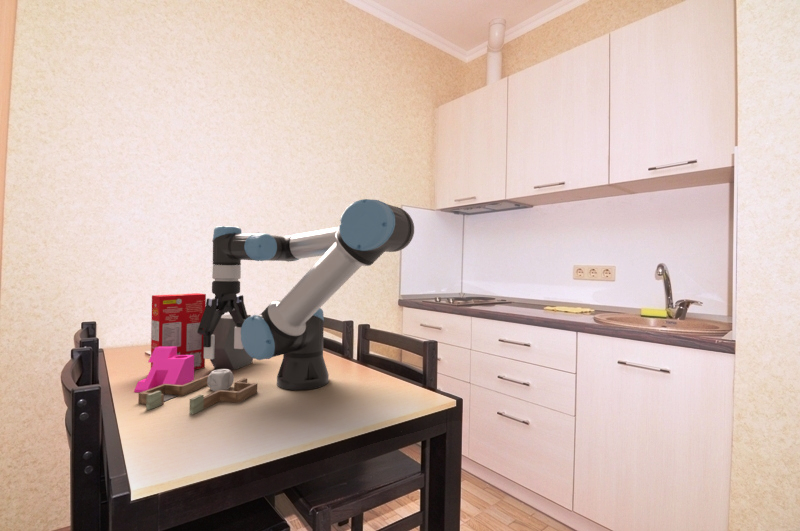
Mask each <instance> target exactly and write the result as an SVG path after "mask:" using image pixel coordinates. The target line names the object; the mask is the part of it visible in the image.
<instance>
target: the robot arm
mask: <svg viewBox="0 0 800 531" xmlns="http://www.w3.org/2000/svg"><path fill="white" fill-rule="evenodd" d="M339 221H340V224H339V225H338V226H336V227H329V228H325V229H319V230H313V231H307V232H302V233H300V232H299V233H295V234H290V235H275V234H274V235H272V234H270V233H266V232H265V233H263V232H255V233H253V232H252V233H250V232H249V233H243V232H242V229H241V228H240V227H239V226H229V225H226V226H225V225H217V226H216V227H214V228H213V237H212V241H211V242H212V275H211V276H212V277H211V278H212V279H214V280H213V281H212V282H211V293H212V294H214V298H212V297H211V298H210V297H206V307H205V310H204V313H203V316H202V319H201V322H200V325H199V328H198V331H197V333H198V334H200V335H203V346H204V359H205V360H210V359H214V346H215V335H212V334H213V332H214V330H215V328H216V326H217V324H218V322H219V320H220V318H221V316H223V315H226V314H227V313H229V314H230V315H231V317H232V318H233V320H234V322H235V324H236V326H238V327H235V330H234V349H243V347H244V349H245V351H246V352H247V354H248V355H249V356H251V357H252V358H253V360H254V359H255V360H258V361H262V360H270V359H272V358H274V357H279V356H282V355H283V356H282V361H281V363H280V366H279V369H278V372H277V376H276V385H277V387H279V388H281V389H284V390H294V391H305V390H314V389H318V388H321V387H325V386H326V385H327V384H328V383H329V380H330V379H329V370H328V368H327V365H326V362H325V359H324V326H325V325H324V322H325V318H324V311H323V309H322V308H321V307H323V306H324V305H325V303H326V302H328V301H329V299H330V298H331V297H333V295H335V294H336V292H337V291H338V290H340V289H341V287H343V286H344V284H346V282H347V281H348V280H349V279H350V278H351V277H352V276H353V275H354V274H355V273H356V272H357V271H358V270H359V269H361V267H362V266H363V267H369V266H372V265H374V263H375V262H376V261H377V260H378V259H379V258H380V257H381V256H382V255H383V254H384V253H385V252H386V253H388V252H389V253H394V252H395V253H396V252H398V251H399V252H401V250H404V249H405V248H407V247H408V245H410V243H411V242H412V240H413V238H414V234H415V225H414V221H413V219H412V216H411V215H410V213H408V212H407V211H406V210H404V209H403V208H401V207H398V206H394V205H391V204H388V203H385V202H384V201H381V200H379V199H367V198H364V199H358V200H356V201H353V202H352V203H351V204H349V205H348V206H347V207H346V208H345V210H344V211H343V213H342V214H341V217H340V220H339ZM315 257H320V258H319V259H318V261H316V263H315V264H313V266H312V267H310V269H309V270H308V271H307V272H306V274H304V276H302V278H300V279H299V281H298V282H297V283H296V284H295V285H294V286H293V287H292V289H290V291H288V293H286V295H285V296H284V297H283V298H282V299H281V300H273V301H272V302H271V303H270V304H268V305H267V307H266V308H265V309H264V310H263V311H262V312H261V313H259V314H253V315H251V316H250V317H248V316H247V315H248V312H247V310H246V307H245V306H246V305H245V300H244V295H243V294H240V293H241V282H240V279H241V277H242V276H241V275H242V271H241V270H242V269H241V268H242V267H241V266H242V262H241V261H256V262H263V261H271V262H272V261H273V262H274V261H275V262H276V261H277V262H297V261H299V260H301V259H308V258H315ZM225 313H226V314H225ZM243 319H245V320H243ZM203 328H204V329H203Z"/></svg>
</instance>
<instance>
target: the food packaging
mask: <svg viewBox="0 0 800 531" xmlns="http://www.w3.org/2000/svg"><path fill="white" fill-rule="evenodd" d="M206 300H207V294H206V293H197V292H196V293H175V294H174V293H173V294H156V295H151V322H150V323H151V326H150V331H151V333H150V336H151V337H150V356H151V355H152V353H153V351H154V349H155V348H156V347H159V346H177V355H194V371H195V370H201V369H205V368H206V365H205V364H206V359H204V346H203V335H200V334H198V333H197V331H198V328H199V325H200V322H201V319H202V316H203V313H204V310H205V307H206ZM203 329H204V328H203ZM153 363H154V362H150V368H151V367H152V365H153Z"/></svg>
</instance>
